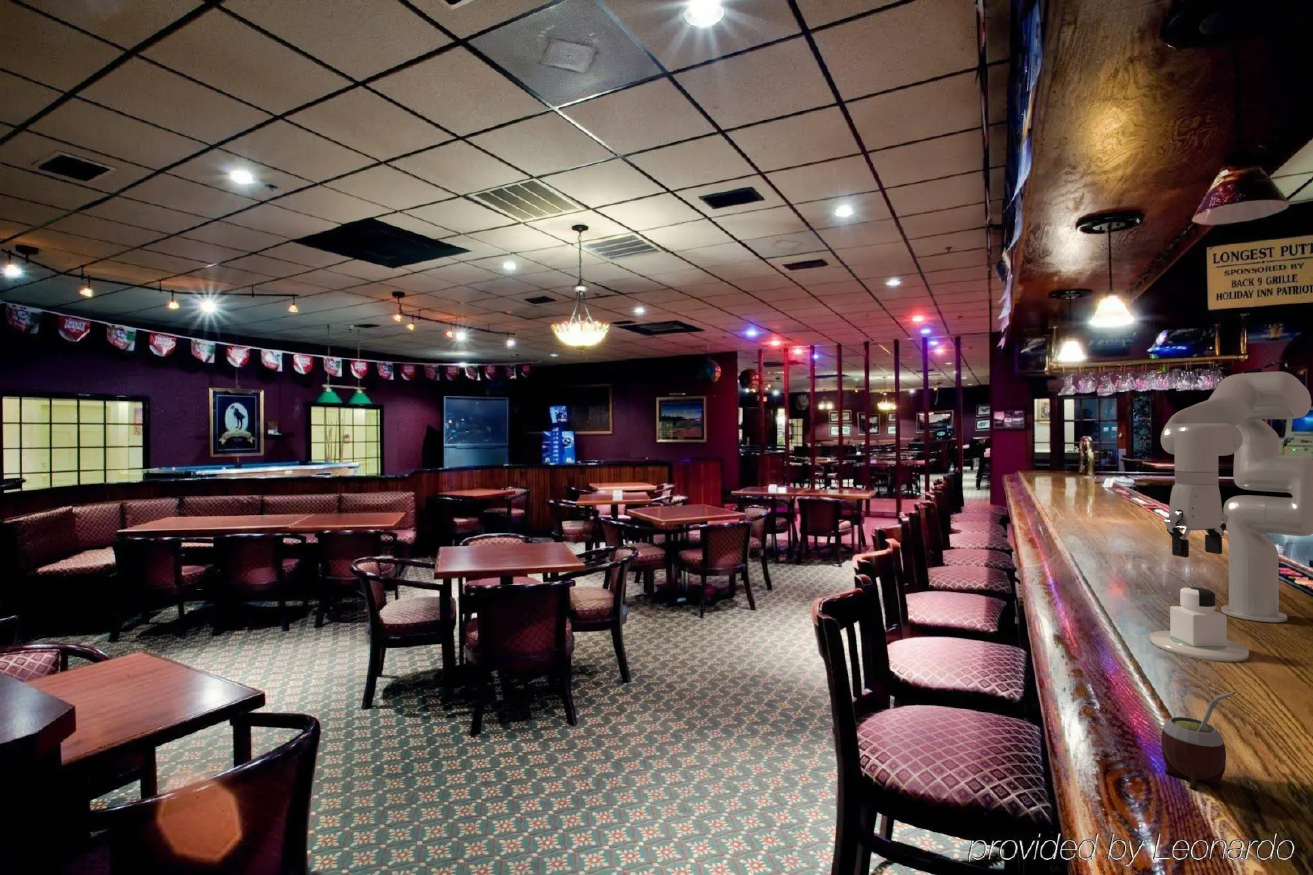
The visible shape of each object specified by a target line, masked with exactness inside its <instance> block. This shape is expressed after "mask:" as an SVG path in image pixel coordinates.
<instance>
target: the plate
mask: <svg viewBox="0 0 1313 875" xmlns="http://www.w3.org/2000/svg"><path fill="white" fill-rule="evenodd" d="M1149 643H1150V644H1151V645H1152V646H1154V647H1156V648H1158V649H1160V648H1161V650H1162V649H1163V651H1166V652H1169V653H1172V654H1174V653H1176V654H1175V655H1179V656H1181V657H1185V658H1187V657H1188V658H1192V657H1193V658H1192V659H1197V660H1205V661H1213V662H1224V663H1227V662H1228V663H1229V662H1230V663H1233V662H1234V663H1235V662H1242V661H1246V660H1248V659H1249V657H1250V649H1248V647H1246V646H1244V645H1242V644H1241V643H1238V642H1237V641H1236V642H1235V641H1232V640H1229V639H1227V646H1226V647H1202V646H1192V645H1189V644H1187V643H1185V642H1183V641H1180V640H1178V639H1176V638H1173V637H1171V635H1170V630H1157V631H1154V632H1152V633H1150V634H1149Z"/></svg>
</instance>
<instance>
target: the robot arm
mask: <svg viewBox="0 0 1313 875" xmlns="http://www.w3.org/2000/svg"><path fill="white" fill-rule="evenodd" d="M1311 406H1312V399H1311V394H1310V391H1309V389H1308V388H1307V387H1306V386H1305V385H1304V384H1303V383H1302V382H1301V381H1300V380H1299V379H1298V378H1297V377H1296V376H1294V375H1293V374H1292V373H1289V372H1286V371H1279V370H1278V371H1264V372H1261V371H1260V372H1247V373H1237V374H1235V373H1234V374H1232V375H1229V376H1227V377H1225V378H1223V379H1222V380H1221V381H1220V382H1219V384H1218V385H1217V386H1216V387H1215V389H1214V390H1213V392H1212V393H1211V395H1210V396H1209V398H1208V399H1207V400H1204V401H1202V402H1198V403H1195V404H1193V405H1190V406H1188V407H1186V408H1183V409H1181V410H1179V411H1177V412H1176V413H1174V414H1173V415H1172V416H1171V417H1170V418H1169V419H1168V421H1167V423H1166V424H1165V425H1164V427H1163V429H1162V431H1161V433H1160V434H1161V435H1160V444H1161V447H1162V449H1163V450H1164V451H1165V452H1166V453H1168V454H1170V455H1174V484H1173V485H1172V488H1171V492H1170V497H1169V498H1170V499H1169V507H1168V508H1169V509H1168V510H1169V512H1168V517H1166V518H1165V519H1164V525H1165V527H1166V532H1167V533H1168V535H1169V537H1170V538H1171V548H1172V549H1171V554H1172V555H1173V556H1175V557H1181V558H1189V556H1190V541H1189V539H1187V538H1188V536H1189V534H1190V533H1191V532H1193V531H1205V532H1206V534H1205V535H1204V551H1205V553H1209V554H1214V555H1215V554H1216V555H1222V554H1223V537H1224V536H1225V530H1226V531H1227V532H1226V533H1227V539H1228V540H1227V541H1228V542H1227V543H1228V604H1226V605H1222V606H1221V607H1220V611H1221V612H1222V614H1225V615H1226V616H1227V615H1228V616H1231V617H1234V618H1237V619H1243V620H1248V621H1255V622H1263V623H1284V622H1287V621H1288V615H1287V614H1286V613H1284V612H1282V611H1280V610H1279V609H1280V607H1279V606H1280V605H1279V604H1280V602H1279V601H1280V600H1279V595H1280V594H1279V583H1280V582H1279V577H1280V576H1279V575H1280V574H1279V550H1278V547H1277V546H1276V545H1275V544H1274V543H1273V541H1272V540H1271V539H1270V538H1269V537H1268V536H1267V535H1271V534H1272V535H1281V536H1290V537H1291V536H1294V537H1308V536H1309V537H1310V536H1312V535H1313V458H1312V457H1309V456H1306V455H1305V456H1304V455H1291V454H1290V455H1287V454H1286V455H1285V454H1280V453H1279V452H1280V451H1279V450H1280V449H1279V448H1280V447H1279V446H1280V437H1279V435H1278V433H1277V432H1276V430H1274V429H1273V428H1272V427H1271V425H1269V424H1268V423H1267V422H1266V421H1264V420H1290V419H1291V420H1293V419H1300V418H1303V417H1305V416H1306V415H1307V414H1308V413H1309V411H1310V410H1311ZM1230 455H1233V456H1234V457H1233V474H1232V475H1233V481H1234V484H1235V486H1237V487H1238V488H1240V489H1242V490H1246V491H1247V490H1248V491H1259V492H1273V493H1275V492H1276V493H1288V494H1290V495H1291V496H1292V497H1285V496H1284V497H1281V496H1279V497H1278V496H1268V495H1267V496H1266V495H1251V494H1248V495H1247V494H1246V495H1245V494H1244V495H1243V494H1242V495H1235V496H1232V497H1230V498H1228V499H1227V500H1226V501H1225V502H1224V505H1222V497H1221V492H1220V487H1219V485H1220V483H1219V479H1220V478H1219V456H1221V457H1223V456H1230ZM1222 506H1223V507H1222ZM1266 534H1267V535H1266Z"/></svg>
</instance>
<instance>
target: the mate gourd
mask: <svg viewBox="0 0 1313 875" xmlns="http://www.w3.org/2000/svg"><path fill="white" fill-rule="evenodd" d="M1235 694H1236V691H1232V692H1227V693H1223V694H1219V695H1217V696H1215V697H1214V698H1212V699H1211V700H1209V702H1208V705H1207V706H1208V707H1207V710H1206V711H1205V714H1204V716H1203V718H1202V720H1199V719H1196V718H1191V717H1187V716H1186V717H1185V716H1184V717H1183V716H1174V717H1171V718H1169V719H1167V721H1165V723H1164V724H1163V725H1162V727H1163V728H1162V729H1161V751H1162V753H1161V754H1162V757H1163V761H1164V763H1165V767H1166V769H1164V773H1165V775H1166V776H1169V777H1174V778H1176V779H1181V780H1185V781H1188V782H1189V790H1193V791H1196V792H1197V791H1198V784H1200V785H1205V786H1208V787H1211V788H1212V787H1213V788H1216V789H1220V790H1222V789H1223V786H1224V784H1223V783H1222V782H1221V781H1222V779H1223V776H1224V774H1225V770H1226V763H1227V762H1226V760H1227V751H1226V745H1225V741H1224V738H1223V736H1222V734H1221V733H1220V732H1219V730H1218V729H1217V728H1216V727H1214V726H1213V725H1211V724H1210V723H1208V722H1209V720H1210V718H1211V715H1212V714H1213V711H1214V709H1216V707H1217V706H1218V704H1219V703H1218V702H1220V701H1222V700H1223V699H1226V698H1228V697H1231V696H1233V695H1235Z"/></svg>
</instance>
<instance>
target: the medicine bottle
mask: <svg viewBox="0 0 1313 875" xmlns="http://www.w3.org/2000/svg"><path fill="white" fill-rule="evenodd" d="M1179 590H1180V592H1179V595H1180V596H1179V597H1180V603H1179V604H1180V605H1179V606H1178V605H1175V606H1174V605H1171V606H1170V607H1169V614H1170V615H1169V617H1170V619H1169V621H1170V623H1169V624H1170V626H1169V627H1170V630H1169V631H1170V635H1171V637H1173V638H1176V639H1178V640H1180V641H1183V642H1185V643H1187V644H1189V645H1192V646H1202V647H1226V646H1227V640H1228V638H1227V637H1228V636H1227V635H1228V634H1227V633H1228V632H1227V630H1228V628H1227V624H1228V623H1227V621H1228V620H1227V614H1225V613H1223V612H1222V613H1221V612H1219V611H1216V593H1215V592H1214V591H1212V590H1210V589H1207V588H1203V587H1195V586H1187V587H1181V589H1179Z"/></svg>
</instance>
